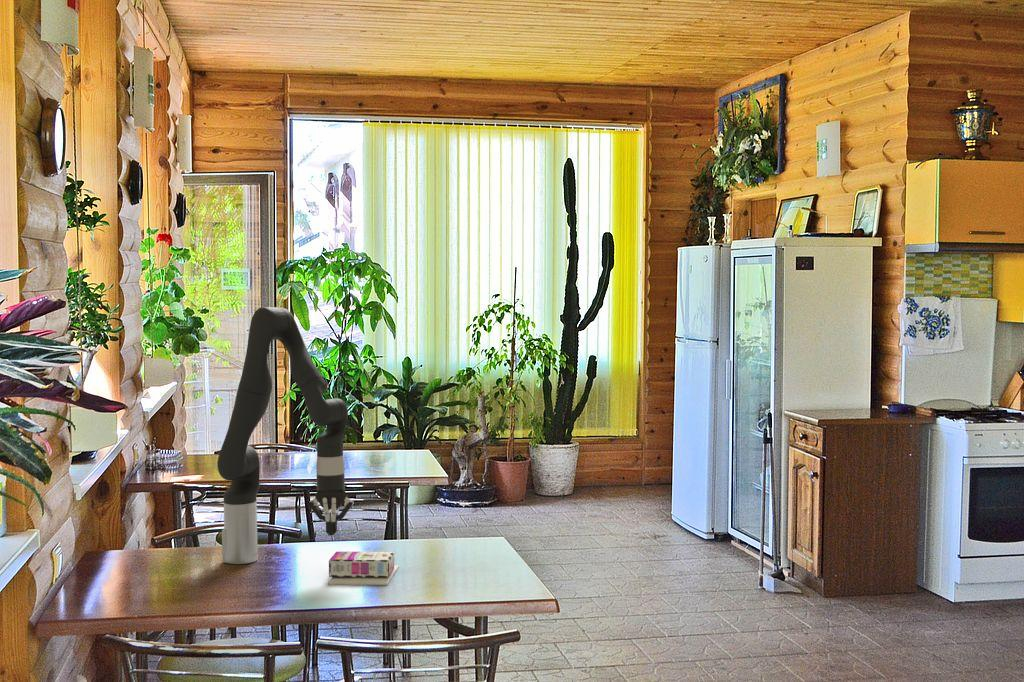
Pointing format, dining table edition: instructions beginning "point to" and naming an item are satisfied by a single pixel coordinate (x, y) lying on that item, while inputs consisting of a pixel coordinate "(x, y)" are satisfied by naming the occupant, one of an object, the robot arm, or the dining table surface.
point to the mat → (364, 579)
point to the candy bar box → (361, 564)
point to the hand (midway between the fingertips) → (331, 534)
